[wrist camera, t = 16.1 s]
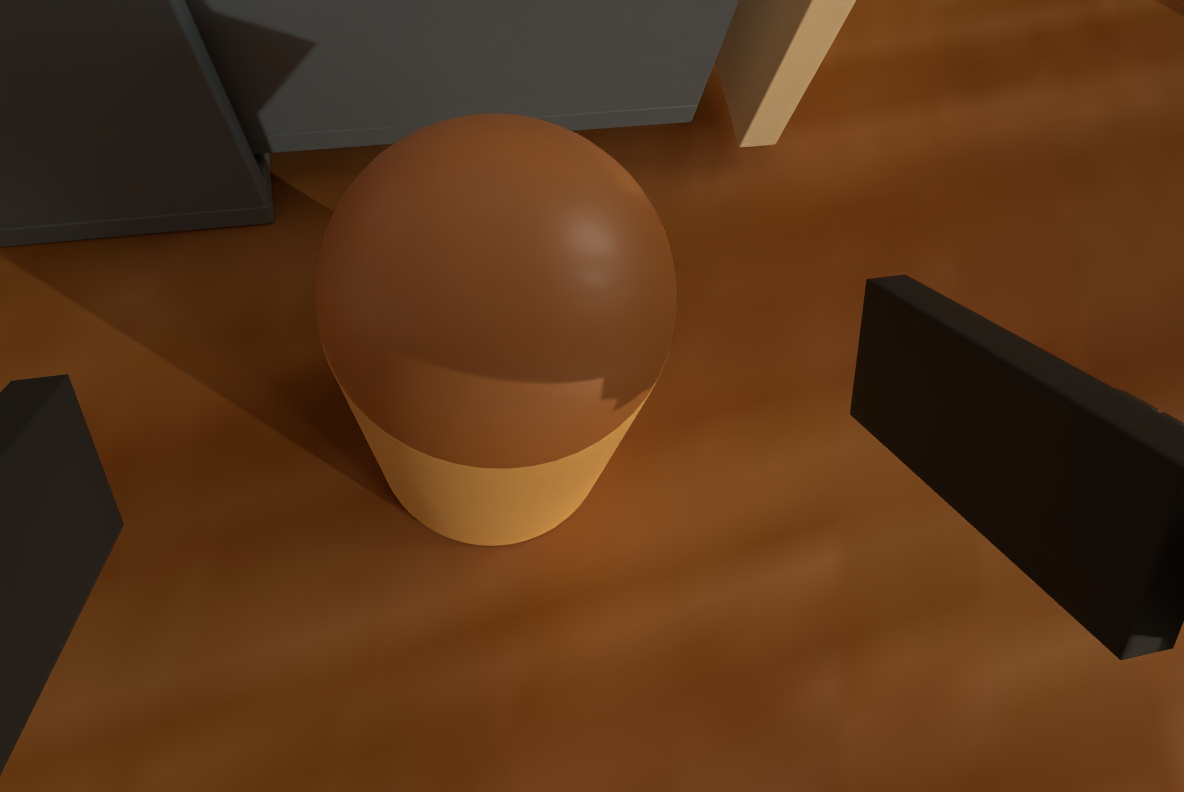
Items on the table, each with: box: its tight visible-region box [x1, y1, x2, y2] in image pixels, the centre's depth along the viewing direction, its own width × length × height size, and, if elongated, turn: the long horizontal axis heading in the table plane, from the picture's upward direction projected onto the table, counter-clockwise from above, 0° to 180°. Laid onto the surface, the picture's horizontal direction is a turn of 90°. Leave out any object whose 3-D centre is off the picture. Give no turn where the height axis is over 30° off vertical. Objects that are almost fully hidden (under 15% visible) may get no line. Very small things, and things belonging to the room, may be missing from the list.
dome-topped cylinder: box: [315, 113, 678, 546], centre depth 16 cm, size 6×6×11 cm
